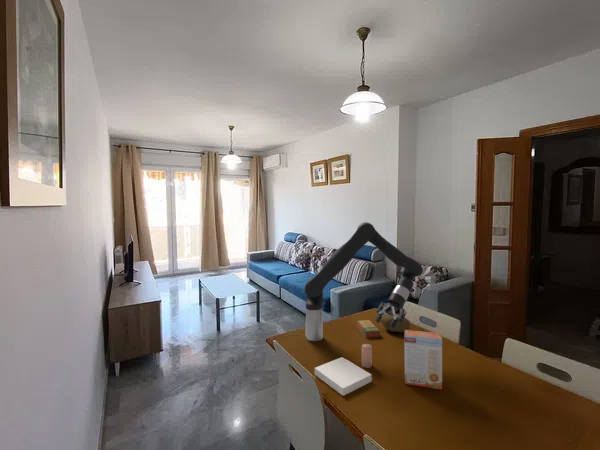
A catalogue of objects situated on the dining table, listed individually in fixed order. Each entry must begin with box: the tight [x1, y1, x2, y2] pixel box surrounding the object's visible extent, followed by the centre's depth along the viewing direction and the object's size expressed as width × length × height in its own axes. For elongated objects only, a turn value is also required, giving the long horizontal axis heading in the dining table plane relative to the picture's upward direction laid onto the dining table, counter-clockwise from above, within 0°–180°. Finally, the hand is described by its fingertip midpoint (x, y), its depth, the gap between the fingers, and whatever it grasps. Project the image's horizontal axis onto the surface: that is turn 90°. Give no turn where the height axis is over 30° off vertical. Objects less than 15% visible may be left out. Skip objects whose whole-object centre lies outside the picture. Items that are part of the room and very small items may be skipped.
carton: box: [356, 319, 381, 339], centre depth 172 cm, size 8×16×4 cm, turn 8°
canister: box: [361, 343, 373, 369], centre depth 135 cm, size 5×5×9 cm
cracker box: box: [404, 329, 443, 390], centre depth 120 cm, size 14×6×21 cm, turn 71°
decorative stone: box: [380, 313, 412, 333], centre depth 171 cm, size 17×11×10 cm, turn 56°
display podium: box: [314, 356, 373, 396], centre depth 125 cm, size 18×16×3 cm
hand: (384, 324), depth 141 cm, fingers open, 8 cm apart
